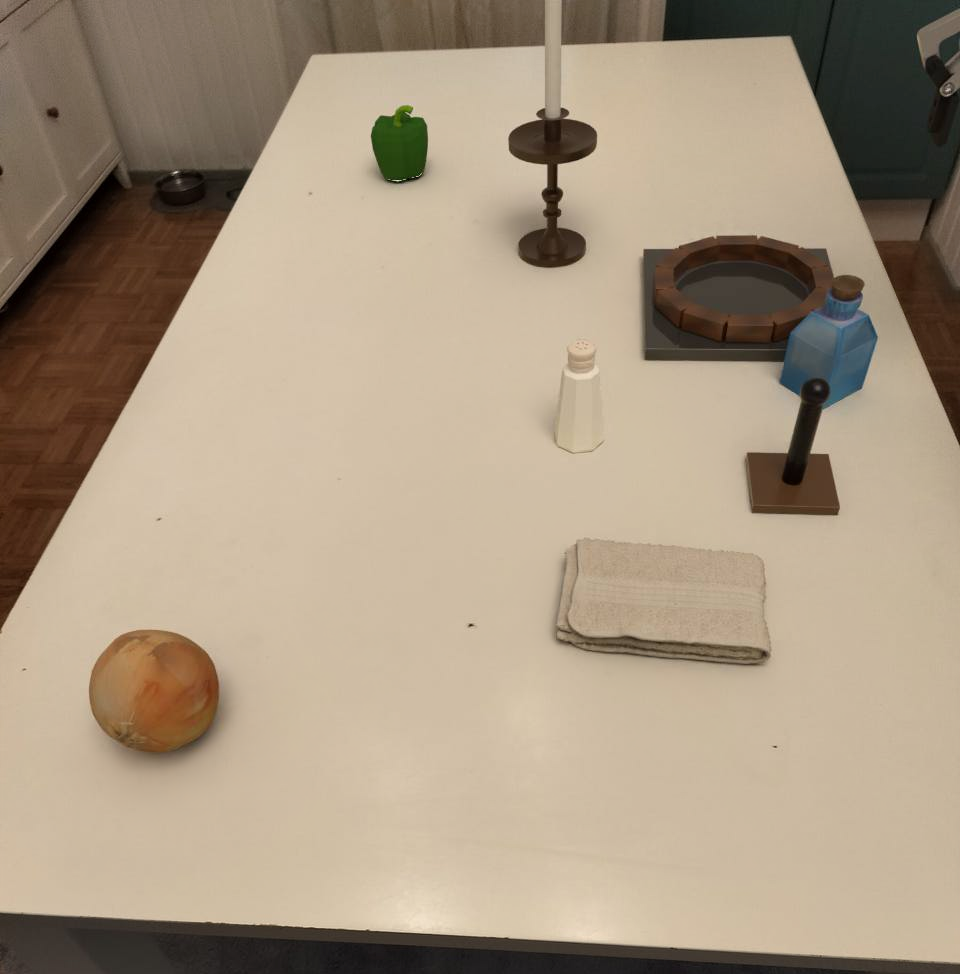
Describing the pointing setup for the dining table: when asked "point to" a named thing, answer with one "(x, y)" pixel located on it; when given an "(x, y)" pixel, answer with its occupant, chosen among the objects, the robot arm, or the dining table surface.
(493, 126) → the dining table surface
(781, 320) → the ring
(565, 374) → the pepper shaker
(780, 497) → the post
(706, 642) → the washcloth
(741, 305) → the hob
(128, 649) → the onion
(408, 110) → the bell pepper
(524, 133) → the candlestick
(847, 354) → the perfume bottle
